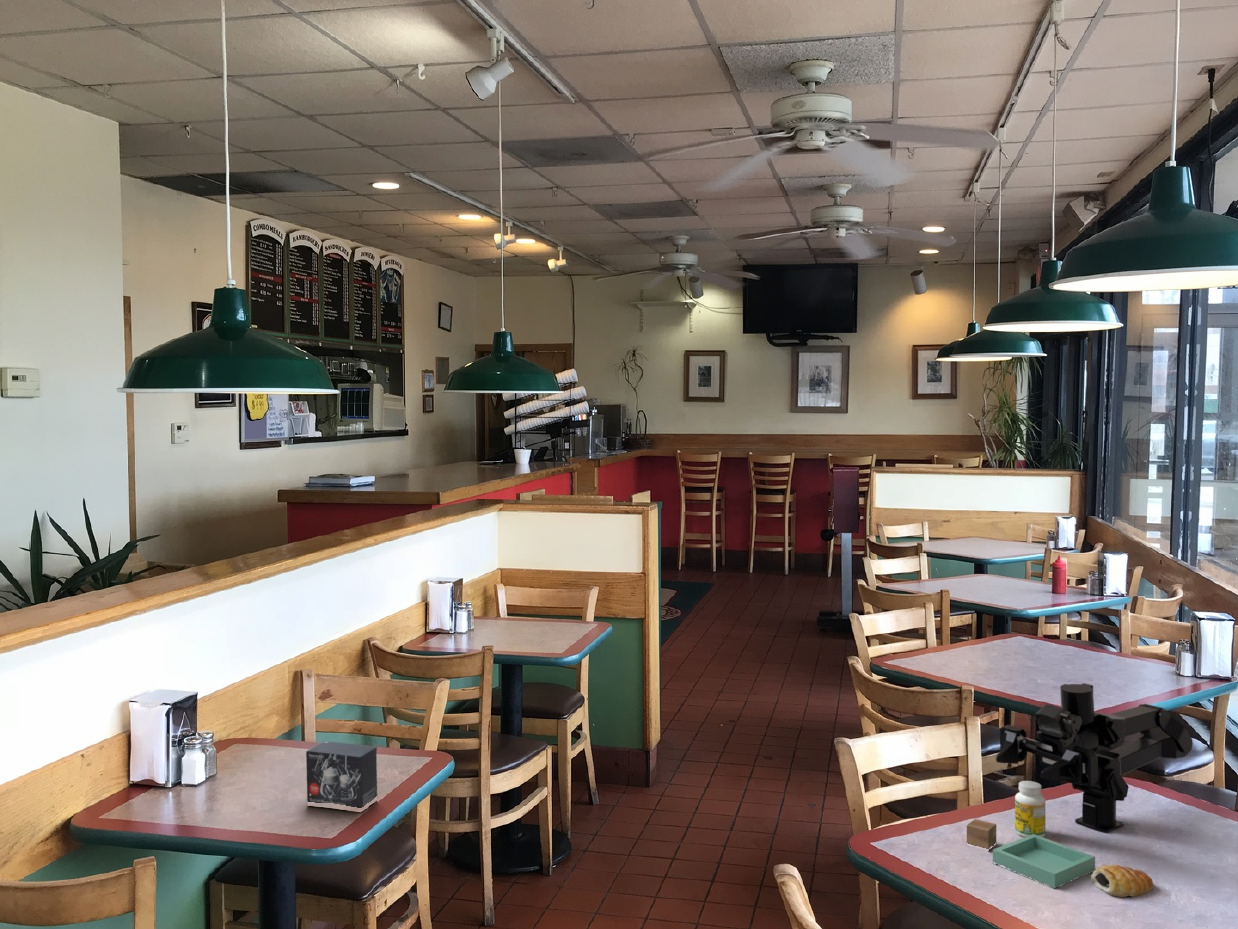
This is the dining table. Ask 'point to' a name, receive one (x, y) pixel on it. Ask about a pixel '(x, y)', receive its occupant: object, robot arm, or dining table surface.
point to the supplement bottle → (1029, 810)
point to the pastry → (1121, 881)
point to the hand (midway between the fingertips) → (1018, 767)
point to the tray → (1044, 860)
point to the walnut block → (981, 833)
